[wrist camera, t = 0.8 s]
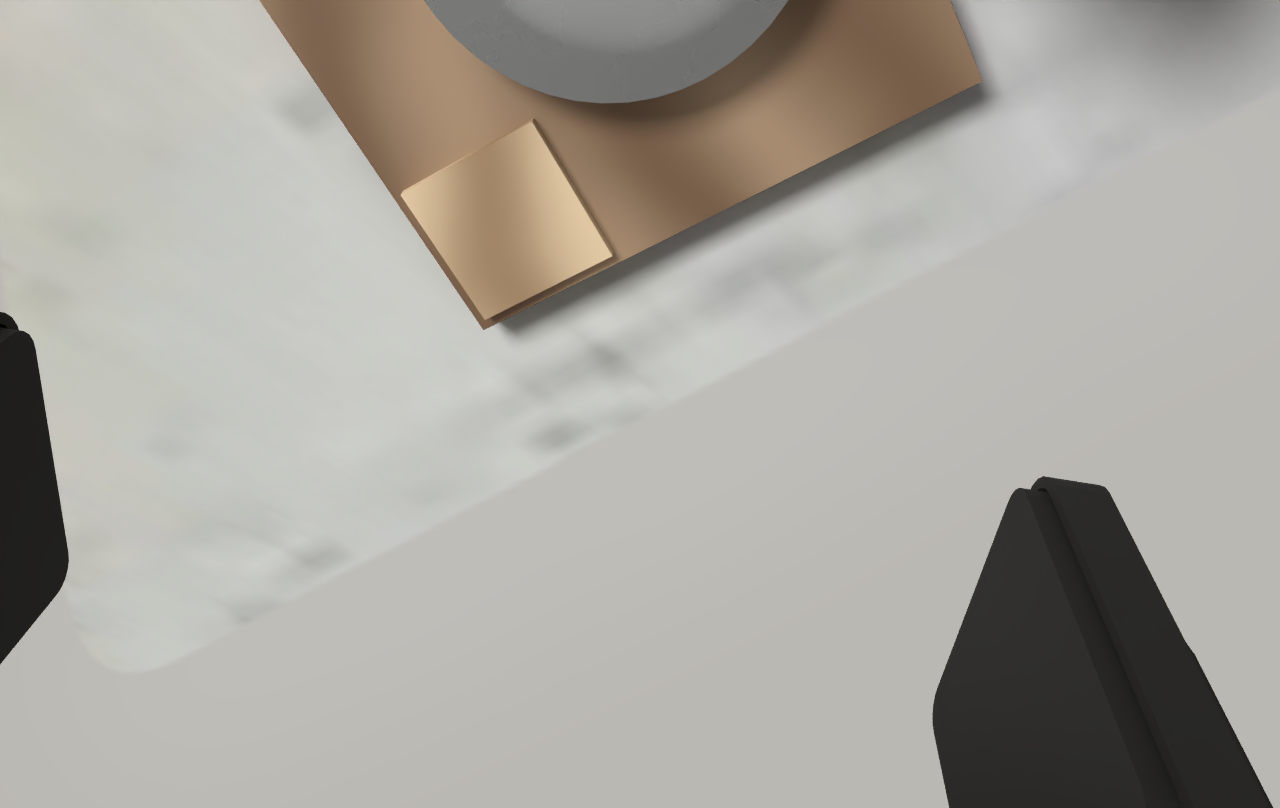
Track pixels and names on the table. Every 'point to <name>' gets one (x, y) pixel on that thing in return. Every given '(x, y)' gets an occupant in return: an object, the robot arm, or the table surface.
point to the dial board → (606, 131)
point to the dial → (606, 42)
